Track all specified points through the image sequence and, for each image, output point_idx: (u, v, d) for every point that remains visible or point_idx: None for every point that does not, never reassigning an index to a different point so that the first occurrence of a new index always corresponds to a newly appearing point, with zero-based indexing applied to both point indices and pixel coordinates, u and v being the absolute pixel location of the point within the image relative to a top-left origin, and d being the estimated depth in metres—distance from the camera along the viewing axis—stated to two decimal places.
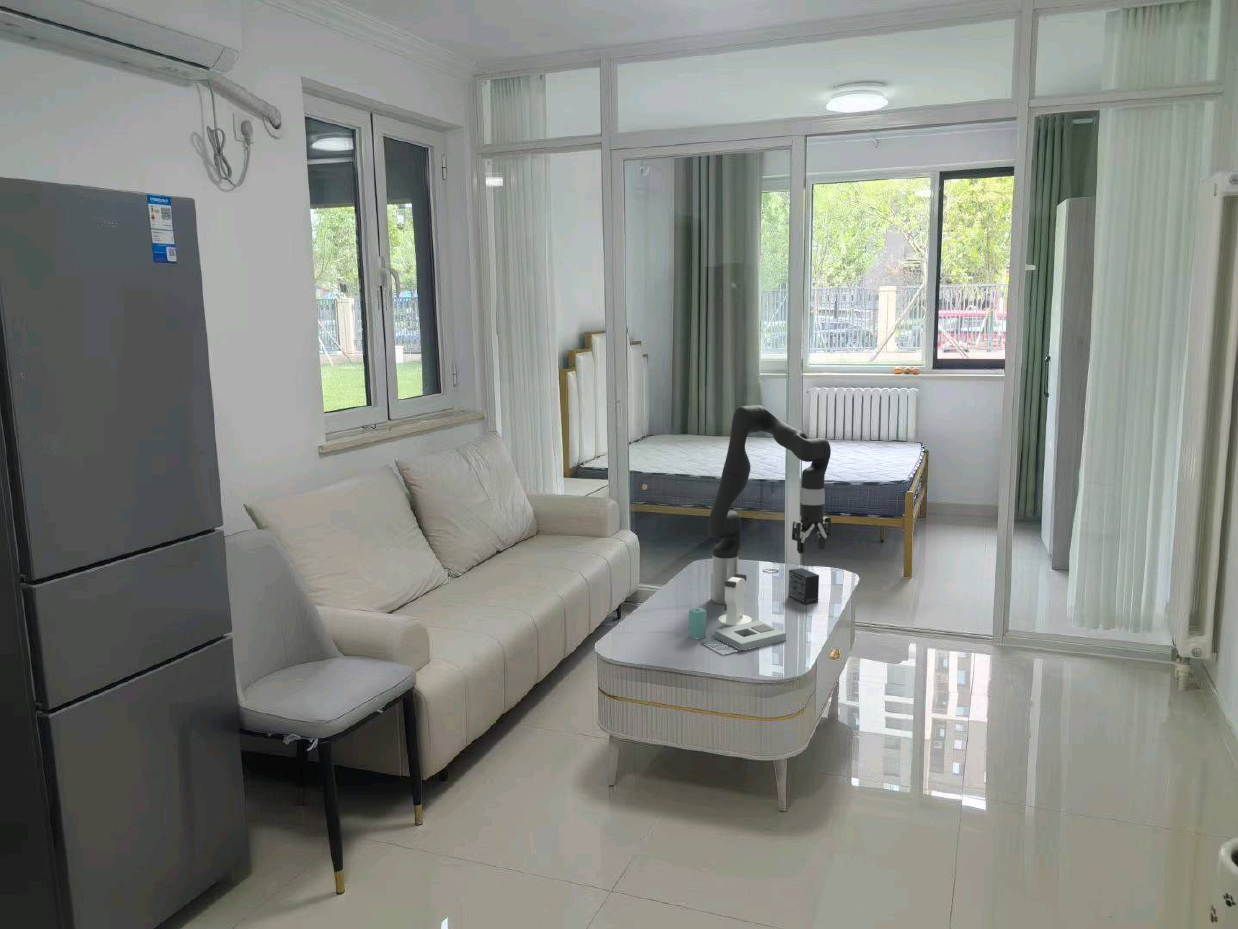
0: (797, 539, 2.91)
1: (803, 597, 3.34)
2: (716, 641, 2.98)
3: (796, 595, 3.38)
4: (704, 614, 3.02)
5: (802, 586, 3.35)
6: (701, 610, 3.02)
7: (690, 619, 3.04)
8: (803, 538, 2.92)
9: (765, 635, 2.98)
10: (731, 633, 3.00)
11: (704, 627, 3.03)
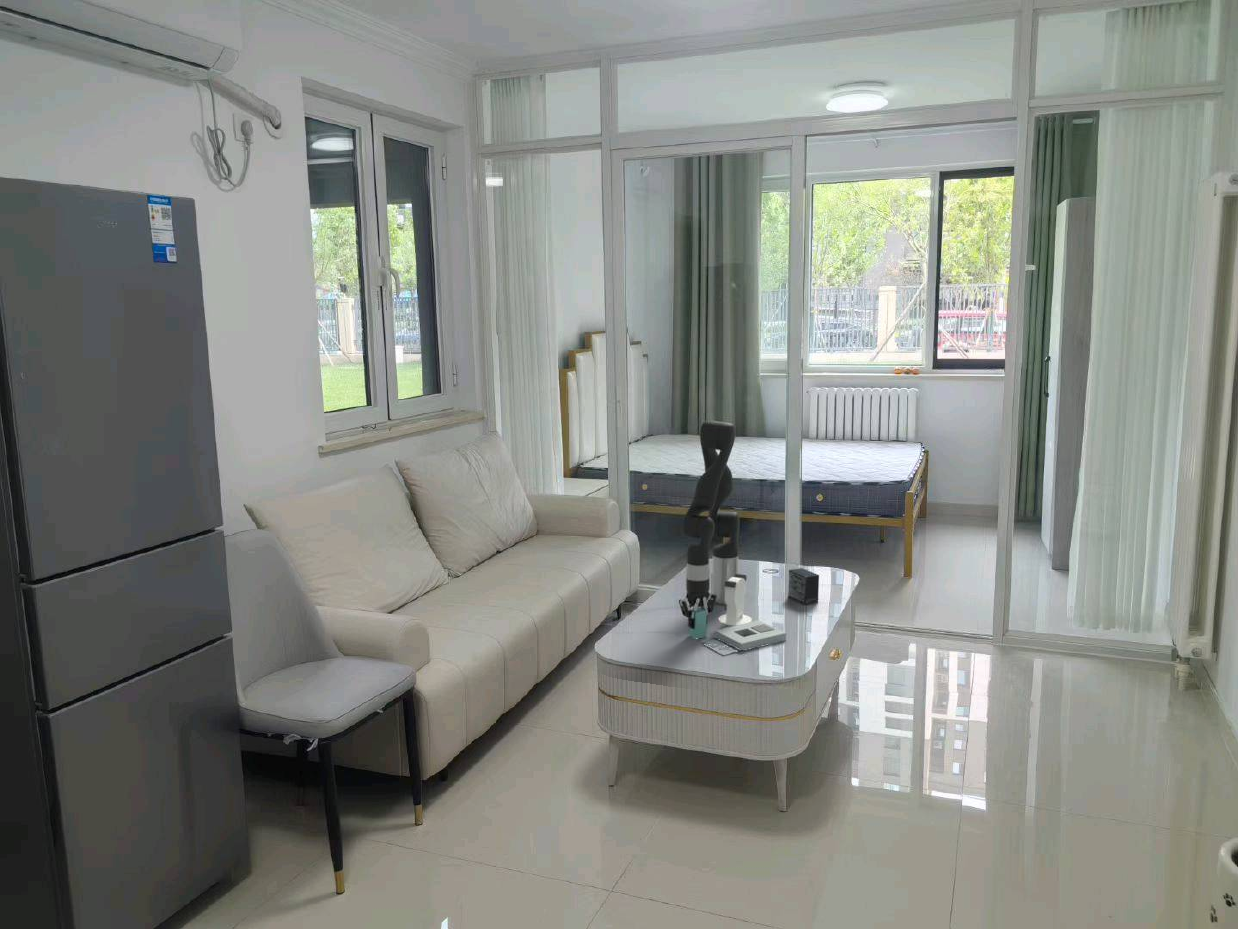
0: (687, 615, 3.00)
1: (803, 597, 3.34)
2: (716, 641, 2.98)
3: (796, 595, 3.38)
4: (704, 614, 3.02)
5: (802, 586, 3.35)
6: (701, 610, 3.02)
7: None
8: (693, 614, 3.01)
9: (765, 635, 2.98)
10: (731, 633, 3.00)
11: (704, 627, 3.03)
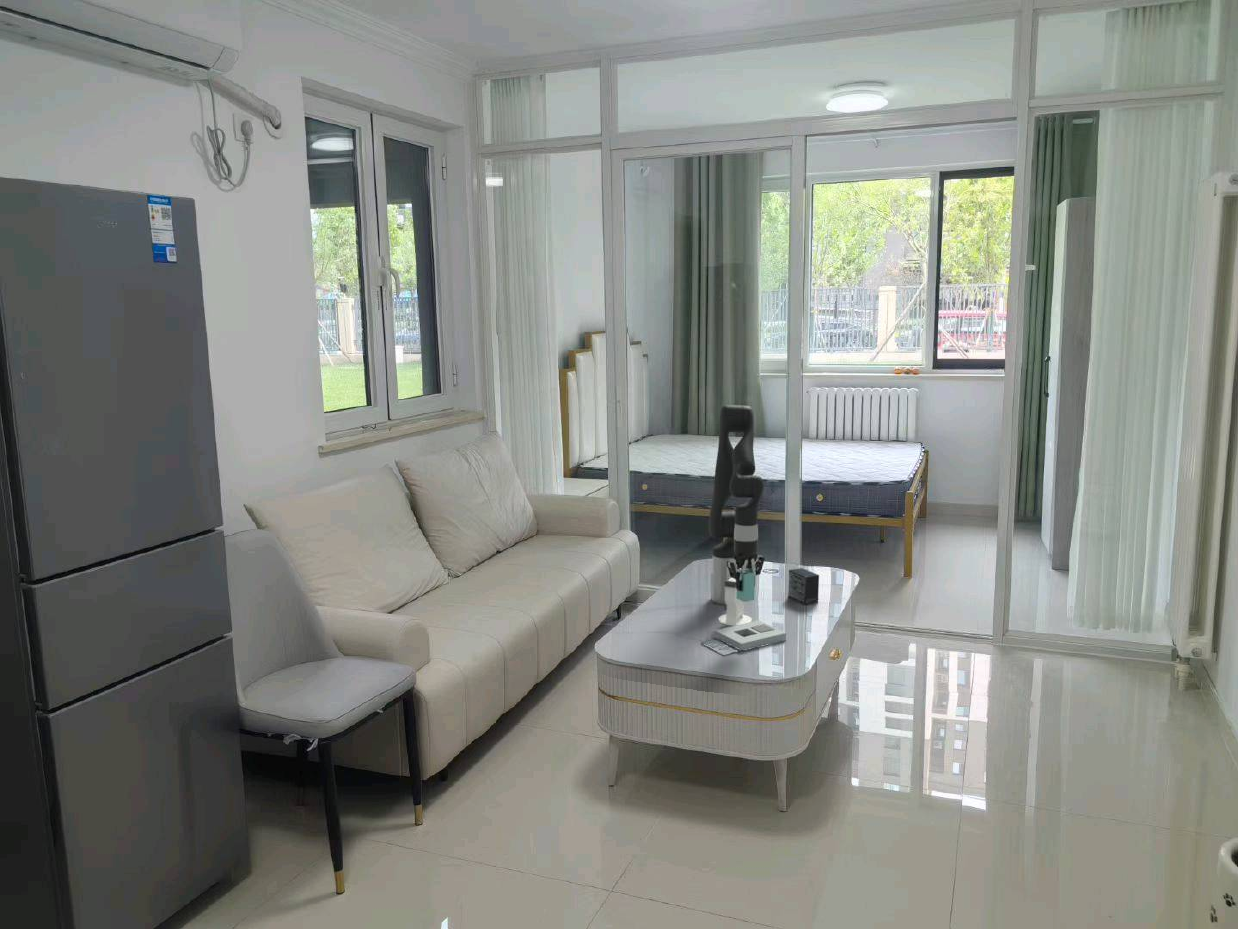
0: (735, 577, 2.93)
1: (803, 597, 3.34)
2: (716, 641, 2.98)
3: (796, 595, 3.38)
4: (752, 576, 2.96)
5: (802, 586, 3.35)
6: (749, 572, 2.96)
7: None
8: (741, 576, 2.94)
9: (765, 635, 2.98)
10: (731, 633, 3.00)
11: (752, 589, 2.96)
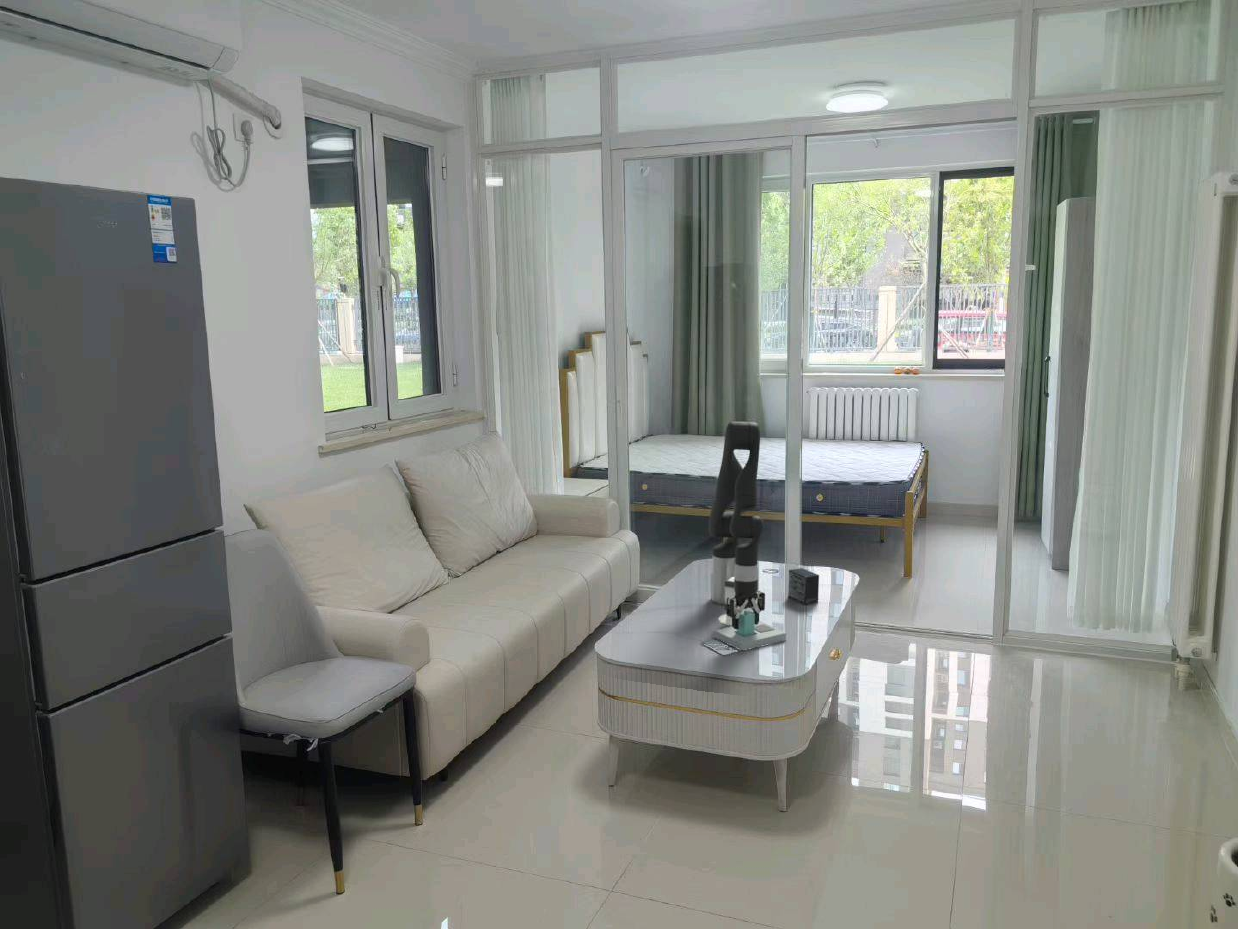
0: (731, 615, 2.95)
1: (803, 597, 3.34)
2: (716, 641, 2.98)
3: (796, 595, 3.38)
4: (752, 617, 2.98)
5: (802, 586, 3.35)
6: (749, 613, 2.99)
7: None
8: (737, 614, 2.96)
9: (765, 635, 2.98)
10: (731, 633, 3.00)
11: (752, 630, 2.99)
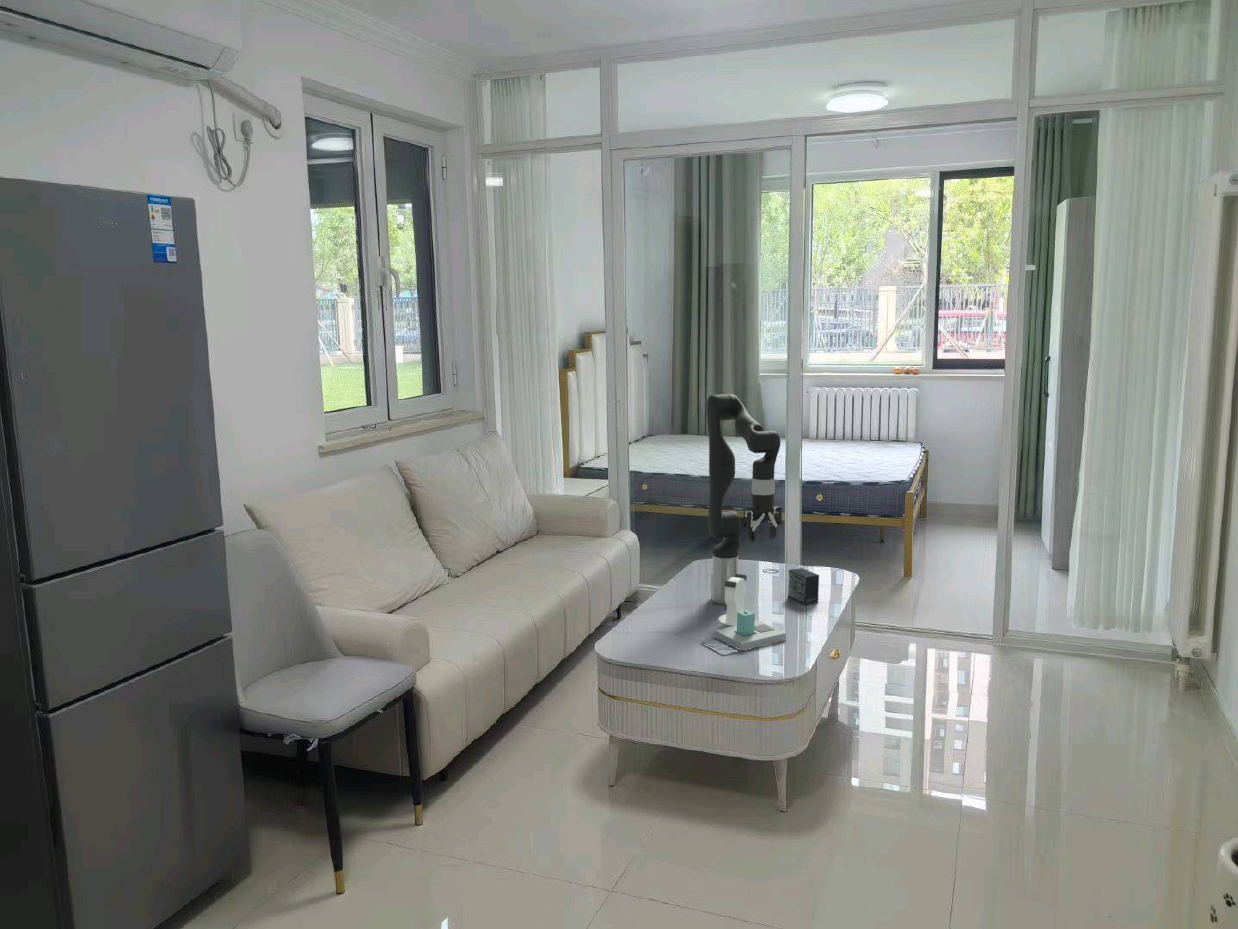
0: (748, 528, 3.02)
1: (803, 597, 3.34)
2: (716, 641, 2.98)
3: (796, 595, 3.38)
4: (752, 617, 2.98)
5: (802, 586, 3.35)
6: (749, 613, 2.99)
7: (738, 622, 3.00)
8: (754, 527, 3.03)
9: (765, 635, 2.98)
10: (731, 633, 3.00)
11: (752, 630, 2.99)
